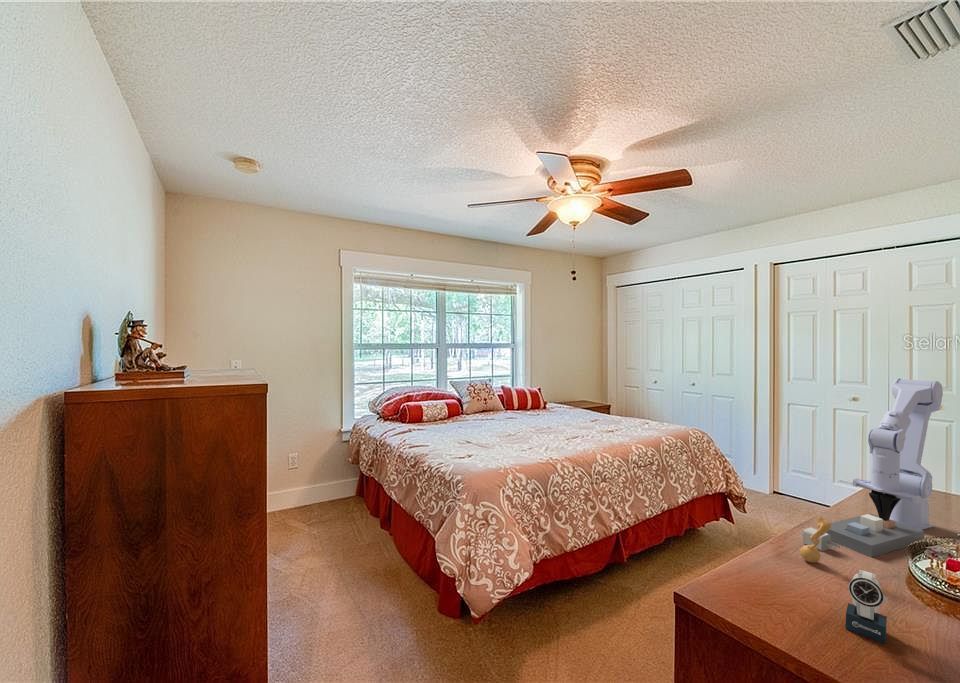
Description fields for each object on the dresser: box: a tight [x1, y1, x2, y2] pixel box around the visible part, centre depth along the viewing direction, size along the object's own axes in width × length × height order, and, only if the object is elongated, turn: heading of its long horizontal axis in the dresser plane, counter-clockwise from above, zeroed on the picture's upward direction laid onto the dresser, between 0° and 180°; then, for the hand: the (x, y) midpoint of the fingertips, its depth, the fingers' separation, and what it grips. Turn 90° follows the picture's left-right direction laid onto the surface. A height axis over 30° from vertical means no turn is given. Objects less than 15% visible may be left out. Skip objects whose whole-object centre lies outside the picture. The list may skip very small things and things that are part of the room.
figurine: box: [799, 516, 831, 564], centre depth 104 cm, size 8×6×12 cm
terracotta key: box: [878, 517, 895, 529], centre depth 119 cm, size 3×3×4 cm
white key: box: [859, 513, 883, 533], centre depth 117 cm, size 3×3×4 cm
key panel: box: [826, 513, 925, 558], centre depth 117 cm, size 24×12×3 cm, turn 111°
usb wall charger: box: [802, 527, 841, 552], centre depth 111 cm, size 4×7×4 cm, turn 23°
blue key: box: [847, 522, 870, 536], centre depth 115 cm, size 3×3×4 cm
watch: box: [845, 569, 888, 645], centre depth 80 cm, size 6×8×11 cm
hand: (884, 519), depth 119 cm, fingers closed
